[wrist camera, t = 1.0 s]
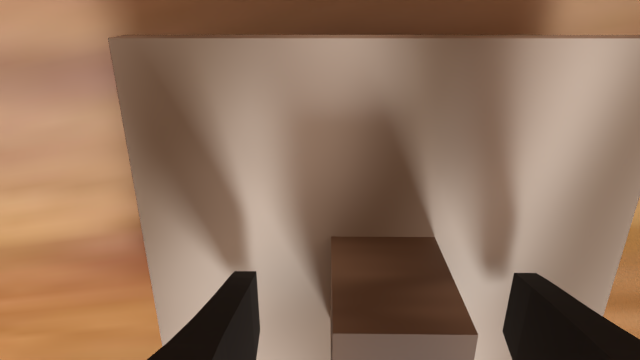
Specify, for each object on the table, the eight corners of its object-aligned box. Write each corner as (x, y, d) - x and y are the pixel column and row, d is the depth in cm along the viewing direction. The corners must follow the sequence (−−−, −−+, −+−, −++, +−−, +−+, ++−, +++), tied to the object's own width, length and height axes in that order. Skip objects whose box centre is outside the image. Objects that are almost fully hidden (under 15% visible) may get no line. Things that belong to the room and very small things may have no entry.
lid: (658, 34, 12) (880, 61, 7) (551, 418, 17) (635, 577, 12) (124, 34, 12) (-6, 60, 7) (186, 414, 17) (135, 569, 13)
